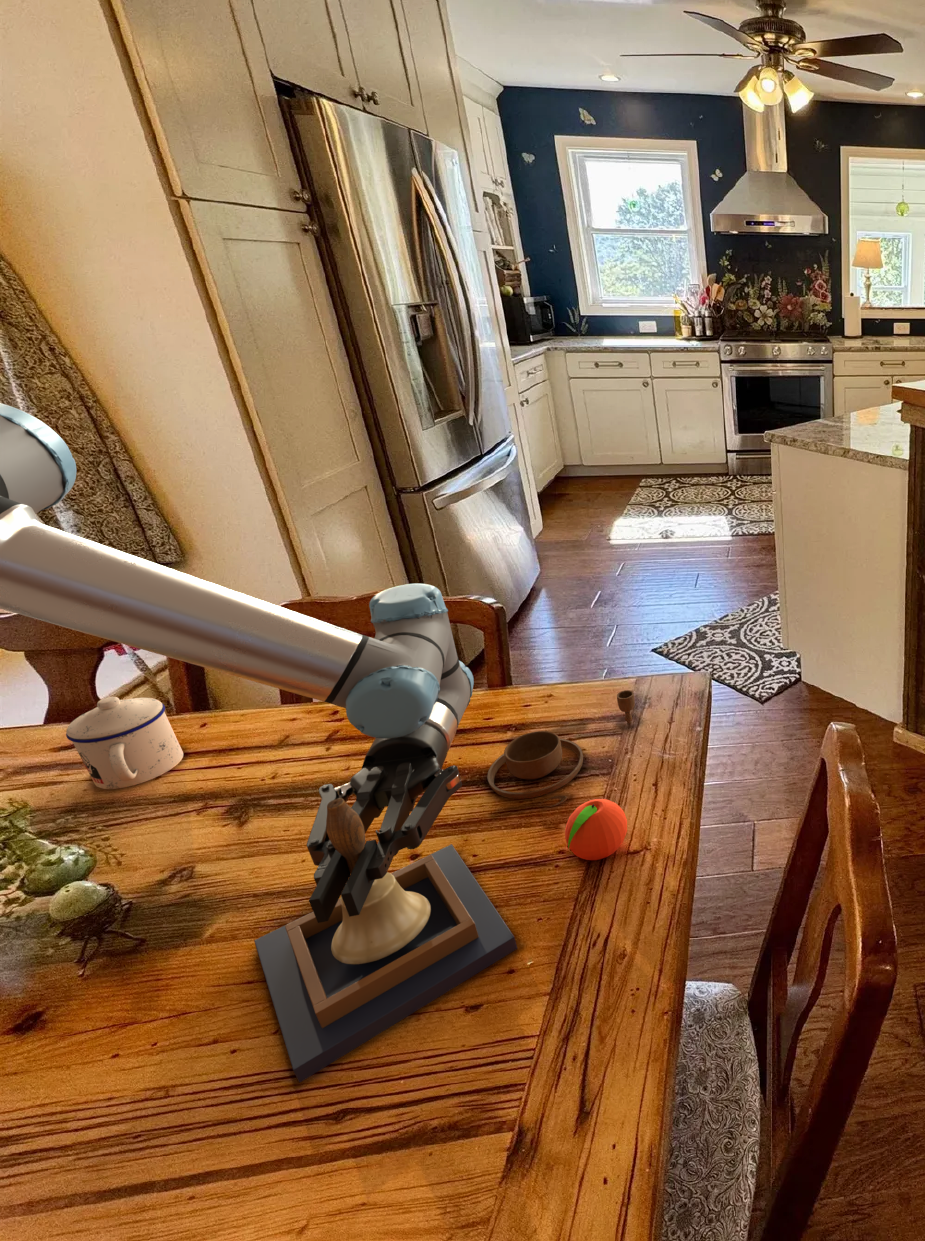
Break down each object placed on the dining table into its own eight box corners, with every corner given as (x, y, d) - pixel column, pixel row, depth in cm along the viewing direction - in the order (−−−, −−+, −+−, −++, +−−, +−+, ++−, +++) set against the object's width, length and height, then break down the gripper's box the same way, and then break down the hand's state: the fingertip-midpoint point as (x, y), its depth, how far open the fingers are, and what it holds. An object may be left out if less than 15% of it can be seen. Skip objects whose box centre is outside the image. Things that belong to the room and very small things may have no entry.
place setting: (494, 746, 103) (486, 712, 101) (638, 718, 110) (633, 686, 108) (484, 827, 88) (475, 790, 86) (650, 788, 96) (646, 753, 93)
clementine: (598, 887, 81) (590, 840, 78) (549, 870, 83) (539, 823, 80) (642, 838, 88) (635, 793, 85) (596, 824, 89) (588, 779, 87)
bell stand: (262, 957, 71) (247, 925, 70) (456, 859, 84) (447, 830, 82) (302, 1088, 60) (285, 1055, 58) (518, 954, 73) (510, 922, 71)
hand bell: (419, 880, 76) (375, 761, 69) (441, 928, 70) (395, 804, 64) (325, 927, 70) (267, 802, 64) (340, 982, 65) (279, 853, 58)
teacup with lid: (99, 767, 96) (62, 695, 92) (189, 743, 102) (158, 673, 97) (85, 817, 88) (43, 741, 83) (184, 787, 93) (150, 714, 89)
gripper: (488, 761, 86) (438, 919, 65) (347, 783, 82) (247, 958, 61) (475, 710, 83) (419, 858, 62) (328, 729, 79) (217, 895, 58)
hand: (334, 907), depth 62 cm, fingers closed on hand bell, 2 cm apart
